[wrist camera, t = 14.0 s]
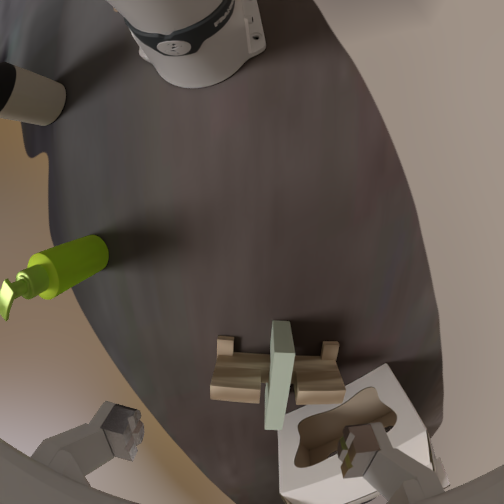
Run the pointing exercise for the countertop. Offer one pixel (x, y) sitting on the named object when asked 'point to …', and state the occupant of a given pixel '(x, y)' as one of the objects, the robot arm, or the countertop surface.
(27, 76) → the travel mug
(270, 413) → the grey-green rectangular slab
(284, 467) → the gable box
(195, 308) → the countertop surface
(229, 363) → the wooden peg bench
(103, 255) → the soap dispenser
